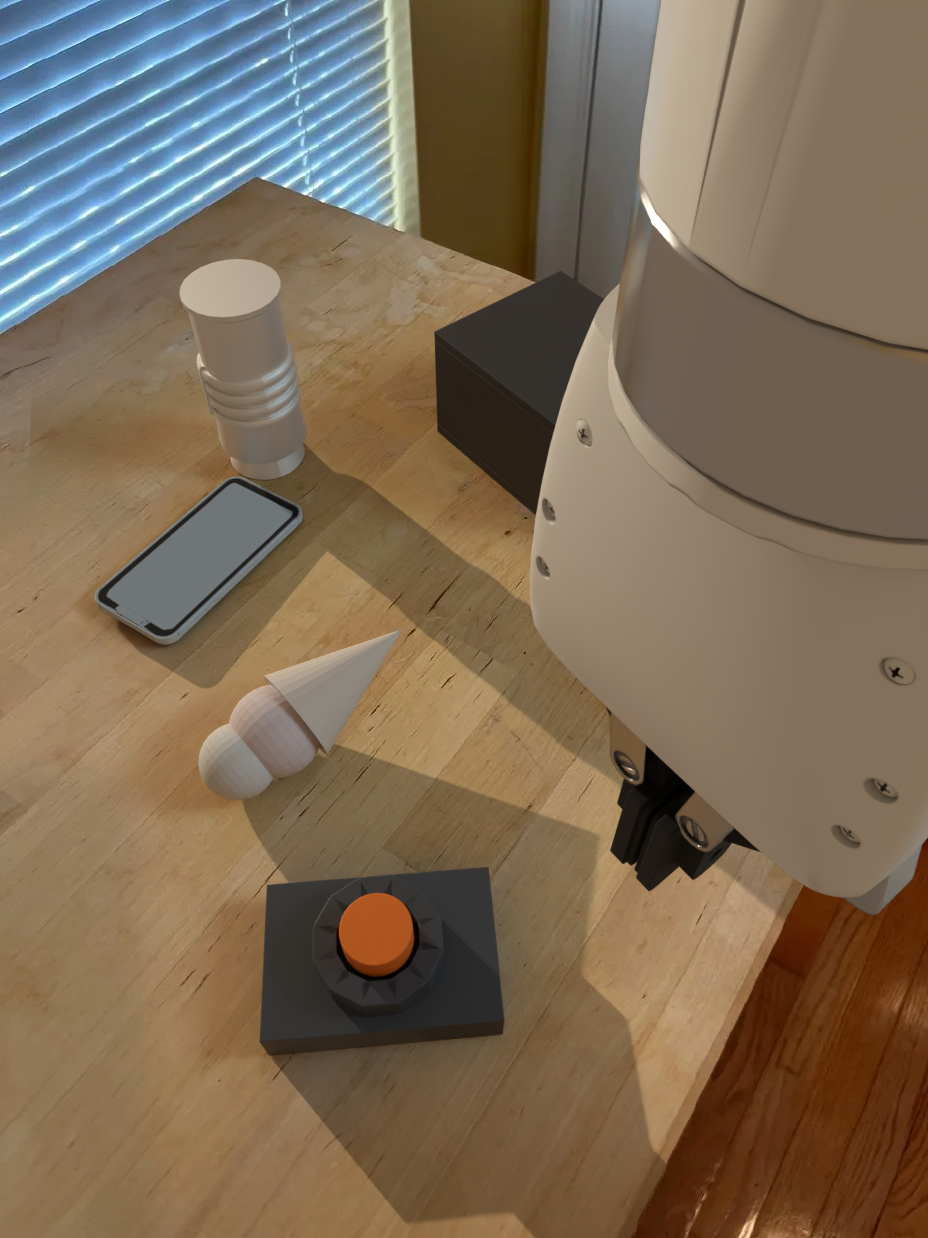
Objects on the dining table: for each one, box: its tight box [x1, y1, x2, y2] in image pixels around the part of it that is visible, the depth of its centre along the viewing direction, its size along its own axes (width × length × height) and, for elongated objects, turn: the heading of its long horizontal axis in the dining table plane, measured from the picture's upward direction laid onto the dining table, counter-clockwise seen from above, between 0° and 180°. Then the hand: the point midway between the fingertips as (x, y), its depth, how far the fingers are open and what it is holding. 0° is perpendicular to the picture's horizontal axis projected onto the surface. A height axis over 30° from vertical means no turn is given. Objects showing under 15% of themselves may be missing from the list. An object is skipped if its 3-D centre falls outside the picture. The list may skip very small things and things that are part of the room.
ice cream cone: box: [198, 628, 403, 801], centre depth 57 cm, size 6×6×15 cm
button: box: [339, 893, 414, 977], centre depth 47 cm, size 4×4×2 cm
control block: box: [259, 866, 505, 1057], centre depth 49 cm, size 12×8×4 cm, turn 95°
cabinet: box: [433, 270, 605, 516], centre depth 72 cm, size 15×13×10 cm
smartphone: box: [94, 476, 304, 645], centre depth 68 cm, size 7×1×15 cm
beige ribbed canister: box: [178, 258, 307, 481], centre depth 69 cm, size 7×7×15 cm
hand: (665, 842), depth 28 cm, fingers closed
